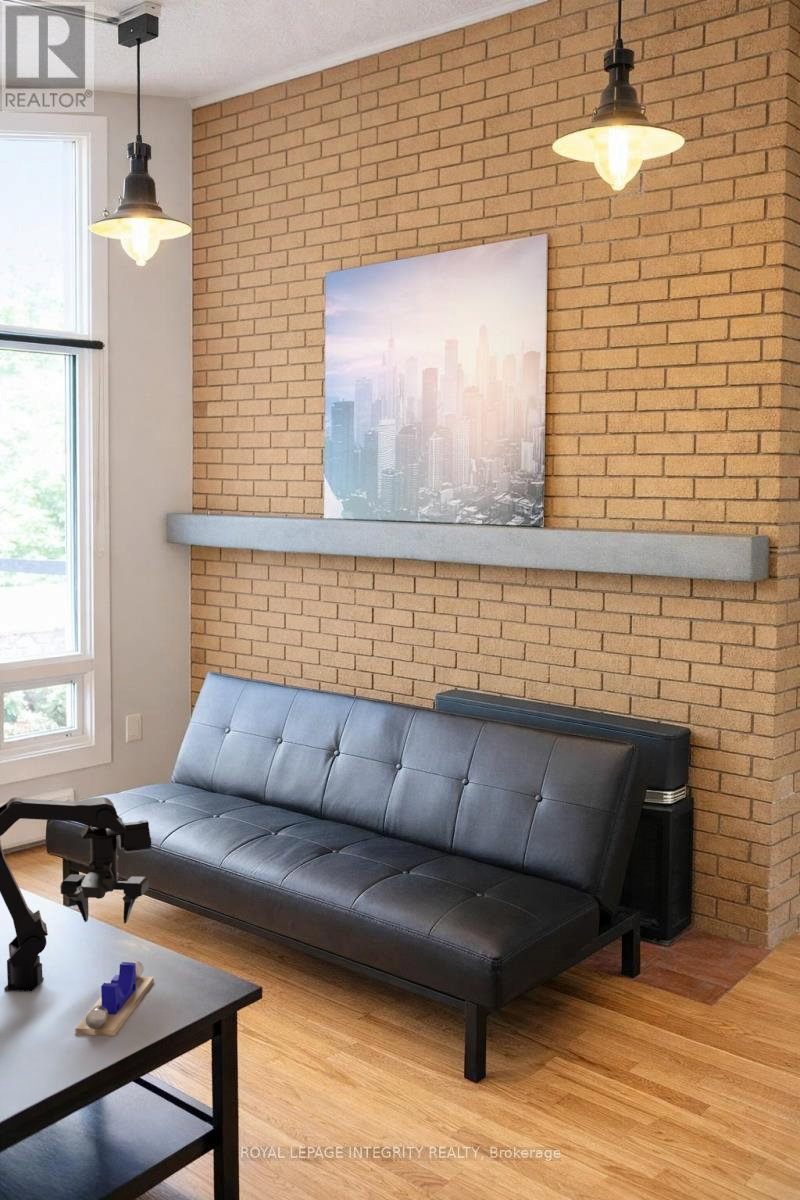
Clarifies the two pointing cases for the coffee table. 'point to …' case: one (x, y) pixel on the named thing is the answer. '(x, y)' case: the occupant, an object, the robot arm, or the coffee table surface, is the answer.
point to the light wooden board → (117, 1020)
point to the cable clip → (119, 988)
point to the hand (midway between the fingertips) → (105, 922)
